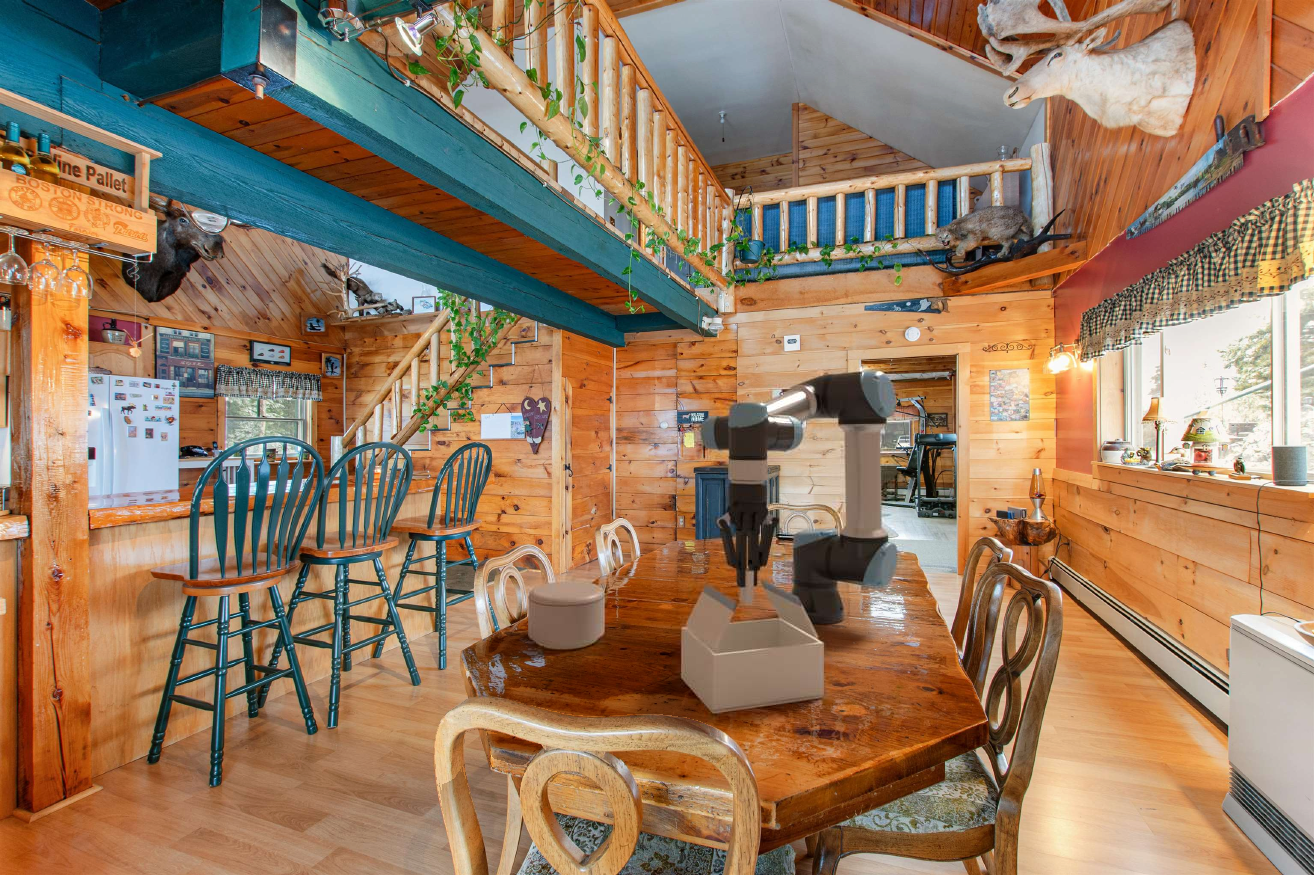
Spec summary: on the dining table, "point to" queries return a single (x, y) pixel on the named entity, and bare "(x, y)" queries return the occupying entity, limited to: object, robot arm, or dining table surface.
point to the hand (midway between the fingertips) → (746, 603)
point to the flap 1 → (711, 615)
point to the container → (566, 614)
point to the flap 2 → (789, 608)
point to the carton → (753, 665)
